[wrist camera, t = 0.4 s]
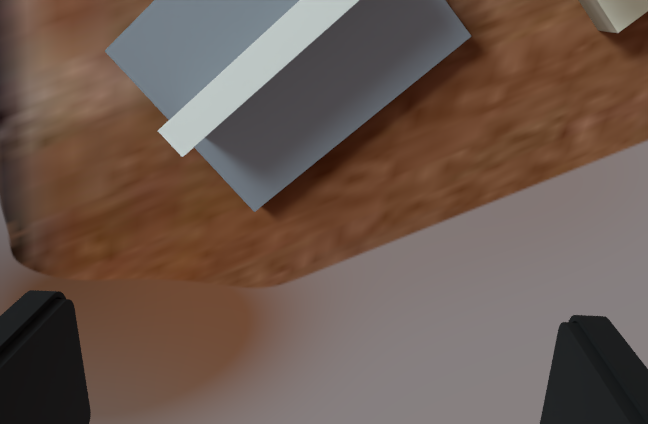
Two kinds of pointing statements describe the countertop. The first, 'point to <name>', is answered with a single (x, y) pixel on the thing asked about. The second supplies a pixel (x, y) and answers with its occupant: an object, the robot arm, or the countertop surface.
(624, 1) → the birch beam
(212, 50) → the stand
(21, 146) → the countertop surface
